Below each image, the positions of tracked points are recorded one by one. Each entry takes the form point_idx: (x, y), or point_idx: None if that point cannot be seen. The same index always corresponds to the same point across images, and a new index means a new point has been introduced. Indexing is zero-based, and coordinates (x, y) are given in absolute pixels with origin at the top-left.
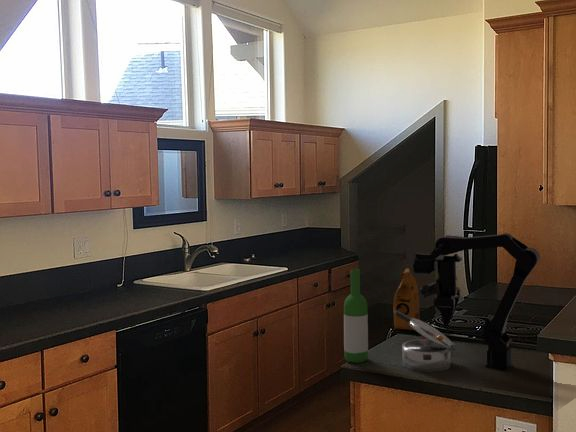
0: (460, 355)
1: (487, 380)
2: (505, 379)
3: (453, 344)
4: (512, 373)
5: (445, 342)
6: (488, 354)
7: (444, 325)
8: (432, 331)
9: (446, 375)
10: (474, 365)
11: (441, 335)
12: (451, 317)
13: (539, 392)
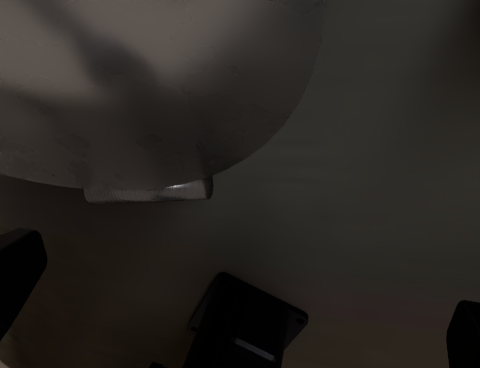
0: (418, 168)
1: (59, 257)
2: (102, 311)
3: (138, 197)
4: (179, 341)
5: (16, 157)
6: (226, 329)
7: (12, 232)
8: (36, 35)
9: None
10: (233, 229)
11: (165, 123)
12: (451, 362)
13: (39, 365)
